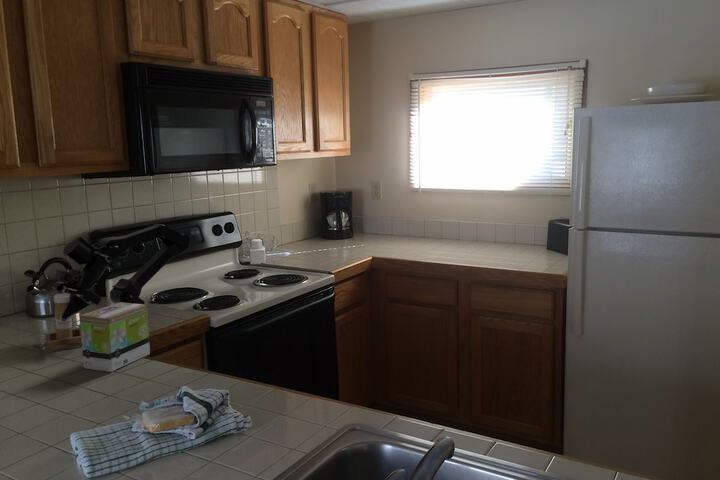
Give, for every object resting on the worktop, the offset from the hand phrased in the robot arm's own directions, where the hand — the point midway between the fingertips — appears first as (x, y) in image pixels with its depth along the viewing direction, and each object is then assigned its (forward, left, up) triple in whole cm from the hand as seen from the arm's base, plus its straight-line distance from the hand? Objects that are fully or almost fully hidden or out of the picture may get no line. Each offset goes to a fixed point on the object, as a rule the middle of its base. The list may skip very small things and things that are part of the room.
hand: (59, 317), depth 180 cm
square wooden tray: (-1, 0, -9) cm, 9 cm away
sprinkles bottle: (-1, -1, -7) cm, 7 cm away
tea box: (-12, +24, -9) cm, 29 cm away
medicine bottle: (-94, -86, -9) cm, 128 cm away
